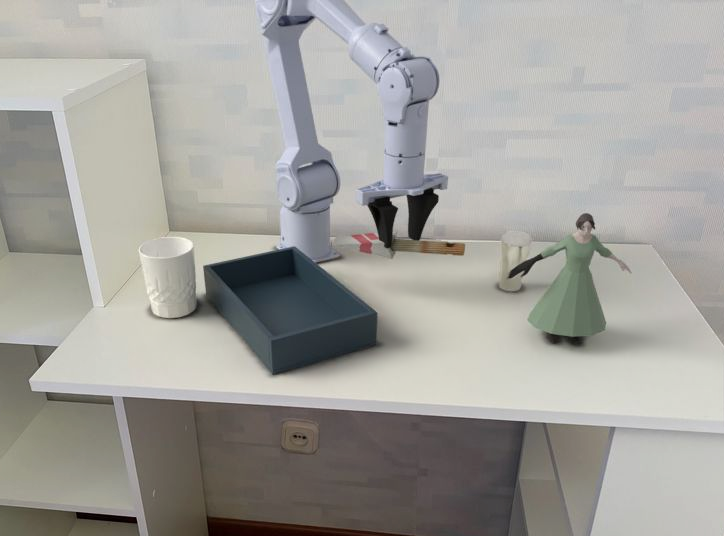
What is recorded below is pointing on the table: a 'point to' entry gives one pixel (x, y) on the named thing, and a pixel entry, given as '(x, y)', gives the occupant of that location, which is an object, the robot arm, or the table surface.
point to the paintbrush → (396, 245)
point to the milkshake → (513, 257)
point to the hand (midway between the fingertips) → (399, 242)
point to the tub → (289, 308)
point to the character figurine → (571, 287)
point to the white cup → (169, 275)
